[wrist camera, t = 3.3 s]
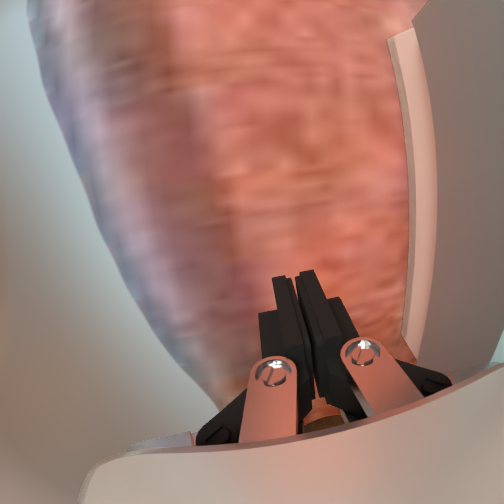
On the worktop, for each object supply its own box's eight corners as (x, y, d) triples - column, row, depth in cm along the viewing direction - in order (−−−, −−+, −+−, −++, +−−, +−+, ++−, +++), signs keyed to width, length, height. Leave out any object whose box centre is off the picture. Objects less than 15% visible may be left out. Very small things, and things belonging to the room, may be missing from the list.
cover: (425, 21, 9) (411, 20, 9) (501, -46, 1) (479, -54, 2) (422, 371, 19) (413, 372, 19) (432, 471, 11) (420, 473, 11)
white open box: (386, 39, 13) (426, 21, 9) (475, 53, 13) (517, 49, 8) (400, 334, 23) (423, 371, 19) (471, 308, 23) (497, 336, 18)
